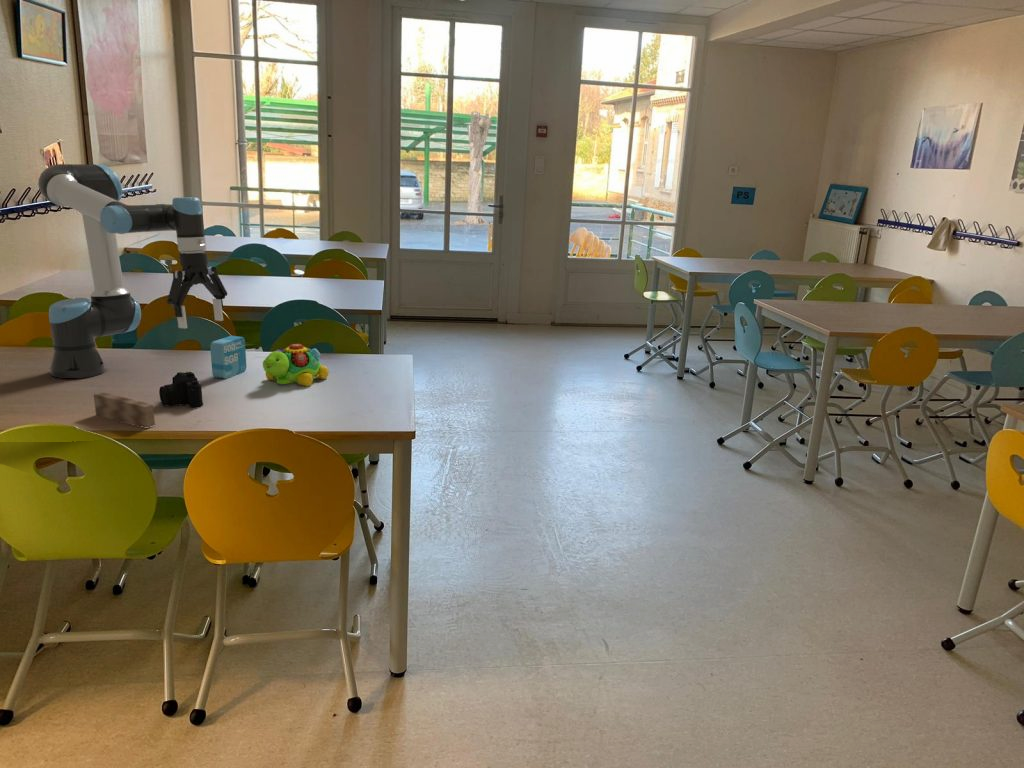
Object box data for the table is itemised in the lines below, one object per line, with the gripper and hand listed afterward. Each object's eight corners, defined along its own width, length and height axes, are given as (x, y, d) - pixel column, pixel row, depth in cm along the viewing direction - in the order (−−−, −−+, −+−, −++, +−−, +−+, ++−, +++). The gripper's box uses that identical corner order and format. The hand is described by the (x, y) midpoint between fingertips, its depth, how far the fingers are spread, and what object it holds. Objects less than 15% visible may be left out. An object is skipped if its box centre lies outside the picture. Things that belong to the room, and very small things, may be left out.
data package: (224, 380, 239) (221, 343, 236) (212, 378, 240) (209, 342, 237) (247, 370, 250) (244, 336, 247) (235, 369, 252) (233, 334, 248)
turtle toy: (247, 387, 234) (245, 351, 230) (292, 369, 255) (291, 336, 251) (292, 395, 228) (291, 358, 225) (335, 376, 249) (334, 342, 246)
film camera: (153, 399, 218) (151, 370, 216) (187, 394, 224) (185, 365, 222) (172, 413, 208) (169, 383, 205) (207, 407, 214) (204, 377, 211)
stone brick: (96, 415, 204) (93, 394, 202) (104, 412, 206) (101, 391, 204) (147, 428, 195) (145, 407, 194) (155, 426, 198) (153, 404, 196)
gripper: (166, 255, 203) (176, 332, 209) (234, 248, 225) (242, 318, 231) (147, 255, 206) (157, 330, 212) (216, 248, 228) (224, 316, 234)
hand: (201, 324), depth 221 cm, fingers open, 13 cm apart
